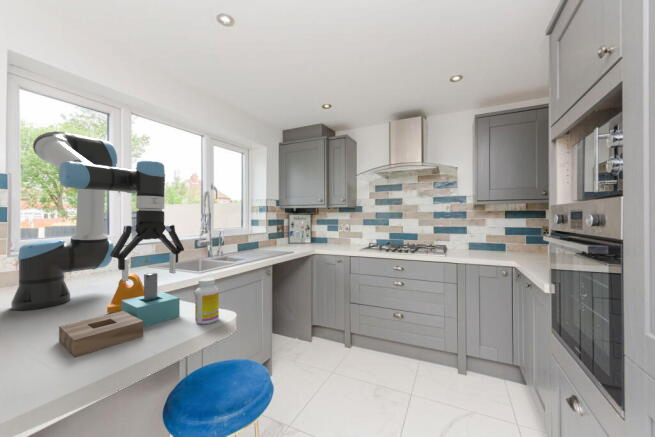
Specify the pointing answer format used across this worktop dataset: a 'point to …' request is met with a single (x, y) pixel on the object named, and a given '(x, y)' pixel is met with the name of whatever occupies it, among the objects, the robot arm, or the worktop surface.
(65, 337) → the socket block
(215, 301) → the supplement bottle
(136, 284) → the bracket
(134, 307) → the block with rectangular slot
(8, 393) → the worktop surface
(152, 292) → the steel rod
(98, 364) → the worktop surface
